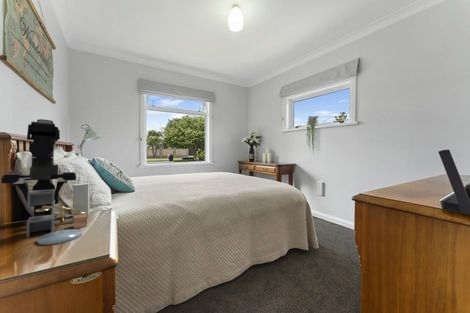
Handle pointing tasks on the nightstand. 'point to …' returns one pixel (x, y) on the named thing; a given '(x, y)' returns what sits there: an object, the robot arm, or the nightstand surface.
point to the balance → (61, 214)
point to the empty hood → (40, 223)
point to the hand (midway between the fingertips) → (41, 201)
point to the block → (80, 221)
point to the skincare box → (81, 198)
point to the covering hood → (40, 198)
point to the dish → (59, 237)
